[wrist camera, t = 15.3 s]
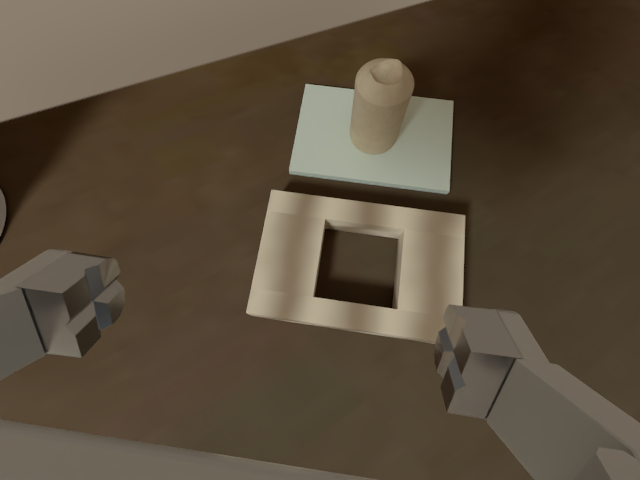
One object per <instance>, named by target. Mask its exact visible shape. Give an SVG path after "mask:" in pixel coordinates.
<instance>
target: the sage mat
mask: <svg viewBox="0 0 640 480" xmlns="http://www.w3.org/2000/svg"><path fill="white" fill-rule="evenodd" d="M353 98H354V89H346V88H337V87H328V86H320V85H311V84H306V85H305V90H304V96H303V101H302V106H301V111H300V116H299V121H298V126H297V132H296V137H295V142H294V147H293V152H292V157H291V162H290V168H289V174H294V175H302V176H310V177H317V178H325V179H333V180H341V181H348V182H356V183H364V184H372V185H379V186H387V187H395V188H403V189H410V190H418V191H426V192H434V193H441V194H448V193H449V191H450V170H451V147H452V125H453V102H454V101H450V100H441V99H433V98H424V97H415V96H411V98H410V101H409V104H408V107H407V110H406V113H405V116H404V119H403V122H402V125H401V128H400V131H399V134H398V136H397V139H396V141H395V143H394V145H393V146H392V147H391V148H390V149H389V150H388V151H386V152H384V153H381V154H367V153H364V152H362V151H360V150H359V149H357V148H356V147H355V146H354V144H353V143H352V141H351V138H350V124H351V115H352V107H353Z"/></svg>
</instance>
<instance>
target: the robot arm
mask: <svg viewBox="0 0 640 480" xmlns="http://www.w3.org/2000/svg"><path fill="white" fill-rule="evenodd" d="M5 219H6V203H5V198H4V195H3V193H2V191H1V189H0V236H1V233H2V231H3V228H4V224H5ZM119 275H120V269H119V265H118V262H117V261H116V260H115V259H113V258H111V257H104V256H98V255H92V254H85V253H79V252H72V251H65V250H58V249H52V250H46V251H45V252H43V253H41V254H40V255H38V256H37V257H35V258H33V259H32V260H30V261H28V262H27V263H25V264H24V265H22V266H20V267H19V268H17V269H16V270H14V271H12V272H11V273H9V274H7V275H6V276H4V277H3V278H1V279H0V380H1V379H3V378H5V377H7V376H9V375H10V374H12V373H14V372H16V371H18V370H19V369H21V368H23V367H25V366H27V365H29V364H30V363H32V362H34V361H36V360H38V359H39V358H41V357H43V356H45V353H46V354H55V355H63V356H71V357H80V358H82V357H83V356H84V355H85V354H86V353H87V352H88V350H89V349H90V348H91V347H92V346H93V345H94V344H95V343H96V342H97V341H98V340H99V339H100V337H101V332H100V330H101V329H103V328H106V327H108V326H110V325H112V324H113V323H114V322H115V321H116V320H117V319H118V317H119V316H120V314H121V312H122V309H123V307H124V302H125V293H124V288H123V287H122V286H121V285H120V283H119V282H118V281H117V280H116V279H117V277H118V276H119ZM443 319H444V322H445V326H446V327H445V328H443V329H442V330H440V331H439V332H438V335H437V338H436V342H435V350H434V358H435V365H436V370H437V372H438V373H439V374H440V375H441V376H442V377H443V378H444V379H443V382H442V384H441V391H442V395H443V399H444V403H445V407H446V411H447V413H453V414H459V415H464V416H470V417H476V418H481V419H487V420H486V422H487V423H488V424H489V426H490V427H491V428H492V429H493V430H494V432H495V433H496V434H497V435H498V436H499V438H500V439H501V440H502V441H503V443H504V444H505V445H506V446H507V447H508V449H509V450H510V451H511V452H512V453H513V455H514V456H515V457H516V458H517V459H518V461H519V462H520V463H521V464H522V465H523V467H524V468H525V469H526V470H527V471H528V473H529V474H530V475H531V476H532V478H533V479H534V480H640V423H639V422H637V421H636V420H634V419H633V418H632V417H630V416H629V415H627V414H626V413H625V412H623V411H622V410H620V409H619V408H618V407H616V406H615V405H613V404H612V403H611V402H609V401H608V400H606V399H605V398H604V397H602V396H601V395H599V394H598V393H597V392H595V391H594V390H592V389H591V388H590V387H588V386H587V385H585V384H584V383H582V382H581V381H580V380H578V379H577V378H575V377H574V376H573V375H571V374H570V373H568V372H567V371H566V370H564V369H563V368H561V367H560V366H559V365H557V364H550V363H549V361H548V360H547V358H546V356H545V355H544V353H543V352H542V350H541V348H540V347H539V345H538V344H537V342H536V340H535V339H534V337H533V335H532V334H531V332H530V331H529V329H528V327H527V326H526V324H525V323H524V321H523V319H522V318H521V316H520V315H519V314H518V313H516V312H515V311H507V310H497V309H484V308H476V307H468V306H460V305H452V304H449V305H448V307H447V308H446V310H445V313H444V316H443ZM0 480H378V479H371V478H365V477H359V476H352V475H346V474H340V473H334V472H327V471H321V470H315V469H308V468H302V467H296V466H289V465H283V464H277V463H270V462H264V461H258V460H251V459H245V458H239V457H233V456H226V455H220V454H214V453H208V452H201V451H195V450H189V449H183V448H177V447H170V446H164V445H158V444H152V443H145V442H139V441H133V440H127V439H120V438H114V437H108V436H102V435H95V434H89V433H83V432H77V431H70V430H64V429H58V428H51V427H45V426H39V425H33V424H26V423H20V422H14V421H7V420H1V419H0Z"/></svg>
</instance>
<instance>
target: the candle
mask: <svg viewBox="0 0 640 480" xmlns="http://www.w3.org/2000/svg"><path fill="white" fill-rule="evenodd" d="M413 89H414V78H413V75H412V73H411V72H410V70H409V69H408V68H407V67H406V66H405V65H403V64H402V63H401V62H400V61H399V60H397V59H390V58H380V59H375V60H372V61H370V62H368V63H366V64H365V65H363V66H362V67H361V68H360V70H359V71H358V73H357V76H356V81H355V89H354V98H353V107H352V115H351V124H350V138H351V141H352V143H353V144H354V146H355V147H356V148H357V149H359V150H360V151H362V152H364V153H367V154H381V153H384V152H386V151H388V150H389V149H390V148H391V147H392V146H393V145H394V143H395V141H396V139H397V136H398V134H399V131H400V128H401V125H402V122H403V119H404V116H405V113H406V110H407V107H408V104H409V101H410V98H411V95H412V92H413Z"/></svg>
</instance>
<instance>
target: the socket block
mask: <svg viewBox="0 0 640 480" xmlns="http://www.w3.org/2000/svg"><path fill="white" fill-rule="evenodd" d="M325 229H332V230H340V231H347V232H354V233H362V234H369V235H376V236H384V237H391V238H398V247H397V259H396V270H395V281H394V293H393V304H392V308H385V307H378V306H371V305H365V304H358V303H351V302H344V301H337V300H331V299H324V298H317V297H315V291H316V285H317V278H318V272H319V265H320V259H321V252H322V246H323V239H324V232H325ZM464 245H465V215H459V214H452V213H444V212H437V211H429V210H421V209H414V208H406V207H399V206H391V205H384V204H376V203H368V202H361V201H353V200H346V199H338V198H330V197H323V196H315V195H308V194H300V193H293V192H285V191H277V190H271V195H270V200H269V204H268V209H267V214H266V219H265V224H264V229H263V233H262V238H261V243H260V248H259V253H258V258H257V262H256V267H255V272H254V277H253V282H252V287H251V291H250V296H249V301H248V306H247V311H246V313H247V314H249V315H251V316H255V317H262V318H268V319H275V320H282V321H288V322H295V323H301V324H308V325H315V326H321V327H328V328H334V329H341V330H348V331H354V332H361V333H367V334H374V335H380V336H387V337H394V338H400V339H407V340H413V341H420V342H427V343H433V344H435V342H436V338H437V335H438V332H439V331H440V330H442V329H443V328H445V327H446V326H445V322H444V319H443V316H444V313H445V310H446V308H447V307H448V305H449V304H452V305H460V306H463V279H464Z"/></svg>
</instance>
